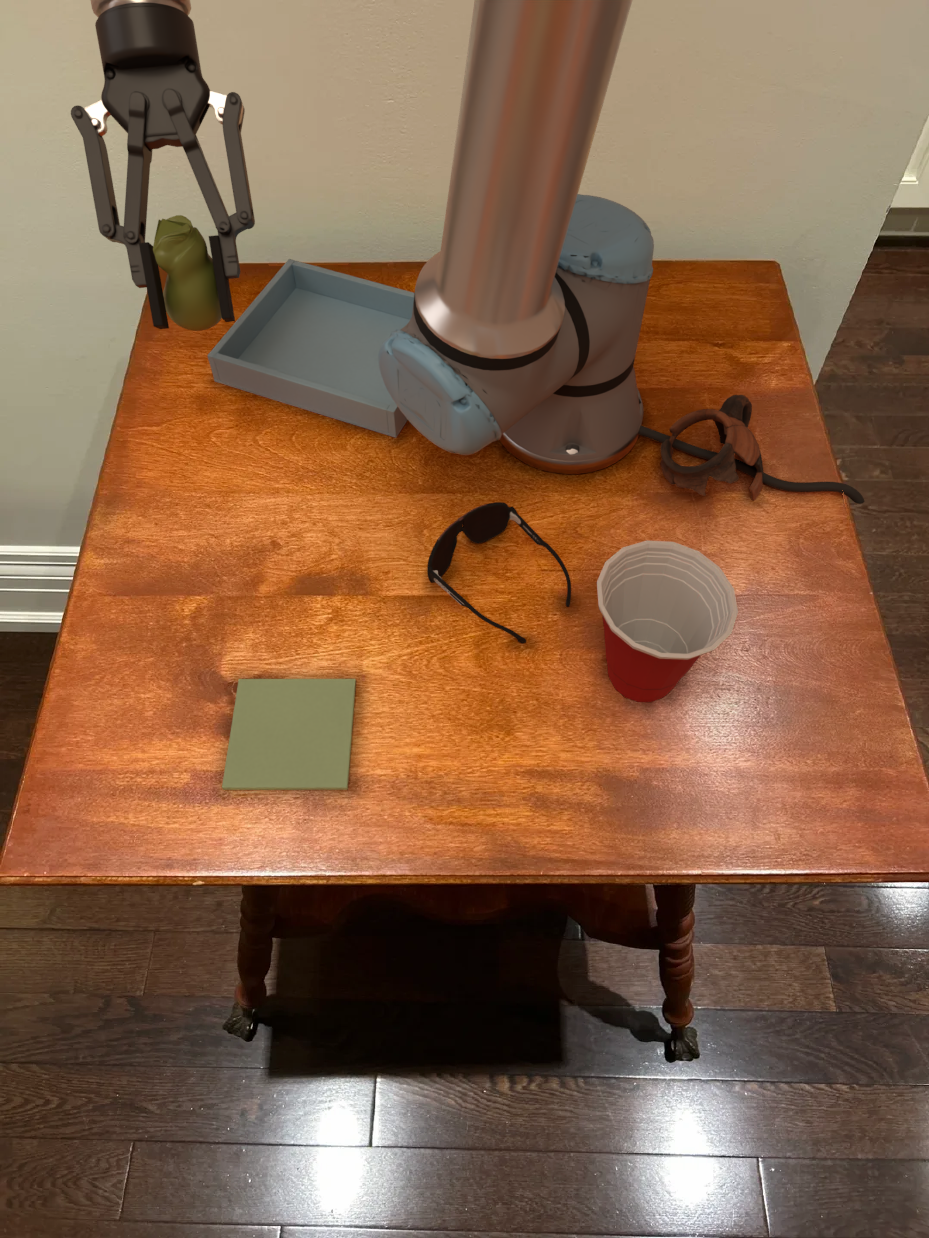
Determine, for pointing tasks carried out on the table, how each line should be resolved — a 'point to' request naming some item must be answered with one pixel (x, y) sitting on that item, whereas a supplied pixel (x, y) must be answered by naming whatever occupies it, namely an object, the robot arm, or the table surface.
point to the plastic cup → (661, 615)
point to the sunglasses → (478, 529)
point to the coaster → (291, 735)
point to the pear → (187, 274)
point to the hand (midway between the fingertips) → (195, 323)
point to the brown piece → (721, 466)
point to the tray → (317, 345)
